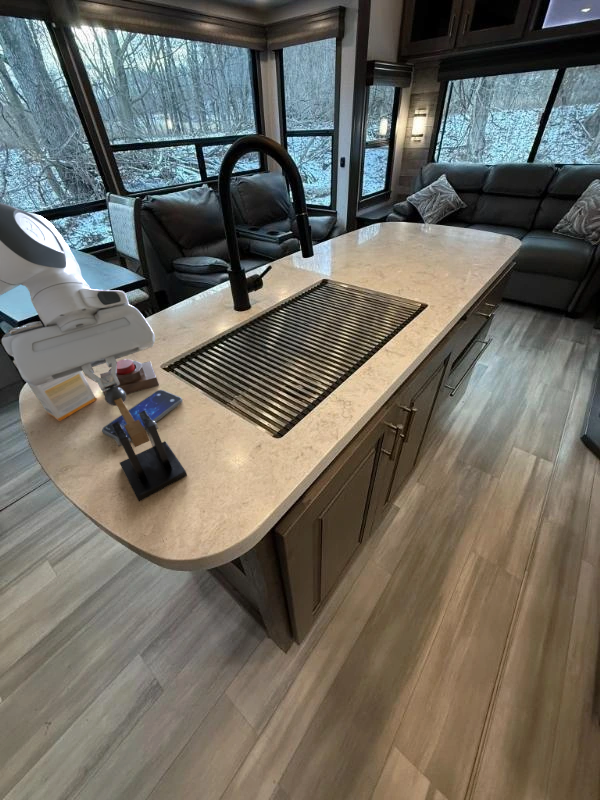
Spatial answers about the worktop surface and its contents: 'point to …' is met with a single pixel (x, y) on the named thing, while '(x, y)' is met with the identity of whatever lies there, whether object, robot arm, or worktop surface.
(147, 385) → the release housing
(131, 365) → the release button
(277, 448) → the worktop surface
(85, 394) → the supplement box
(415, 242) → the worktop surface
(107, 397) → the bolt lever
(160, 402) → the smartphone
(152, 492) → the latch bracket
